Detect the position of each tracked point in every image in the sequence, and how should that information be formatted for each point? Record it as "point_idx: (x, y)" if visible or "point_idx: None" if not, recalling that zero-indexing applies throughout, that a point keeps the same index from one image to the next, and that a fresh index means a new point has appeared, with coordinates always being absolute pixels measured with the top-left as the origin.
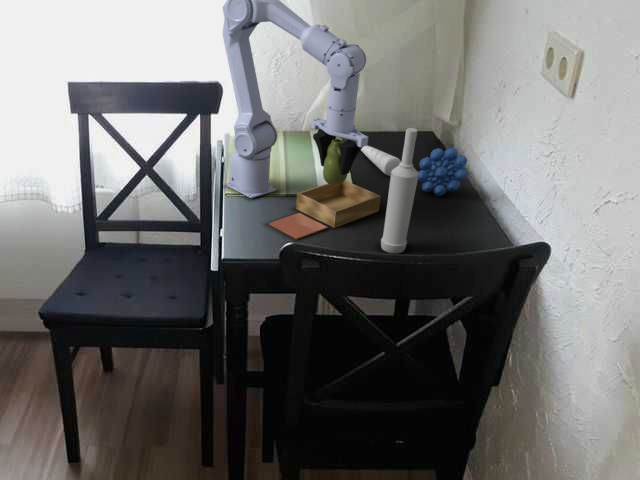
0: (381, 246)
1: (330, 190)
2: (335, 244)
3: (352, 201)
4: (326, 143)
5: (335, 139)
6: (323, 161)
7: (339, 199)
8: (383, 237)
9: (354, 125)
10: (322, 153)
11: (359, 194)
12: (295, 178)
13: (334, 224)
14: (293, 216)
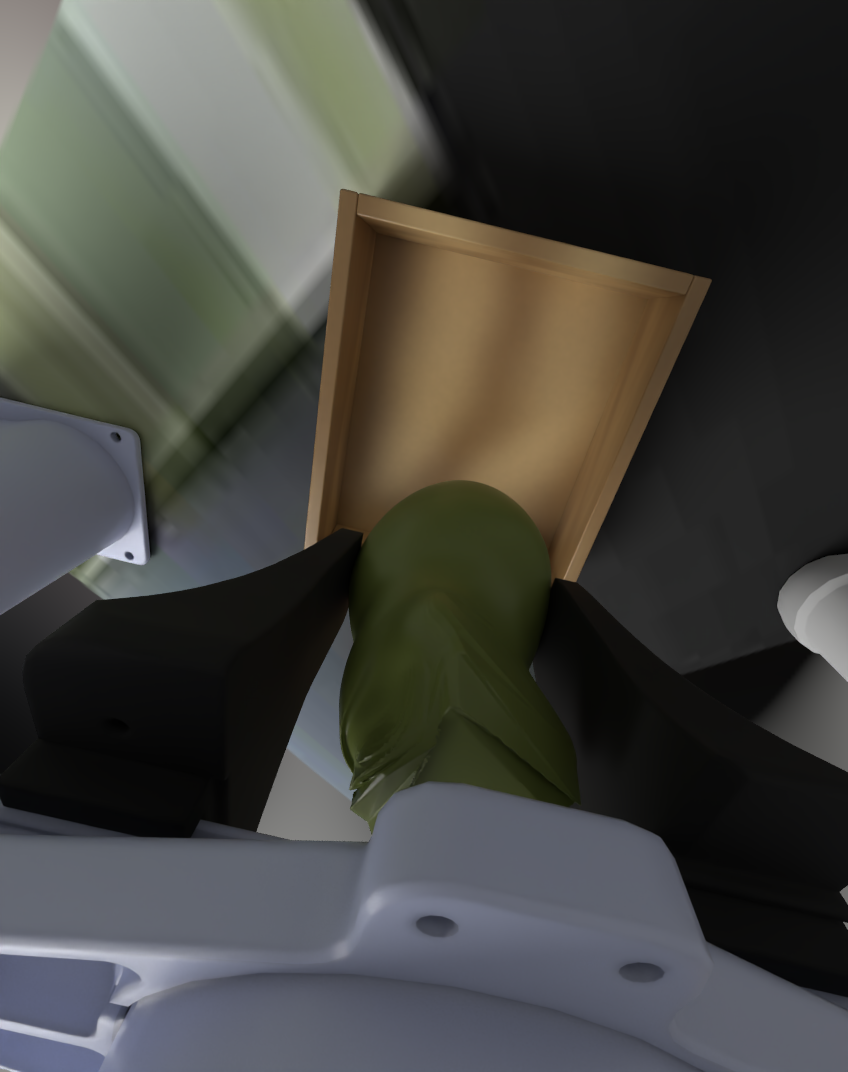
0: (785, 625)
1: (353, 328)
2: None
3: (487, 283)
4: (282, 722)
5: (373, 792)
6: (342, 616)
7: (416, 312)
8: (814, 647)
9: (669, 959)
10: (312, 675)
11: (528, 264)
12: (46, 197)
13: None
14: None
